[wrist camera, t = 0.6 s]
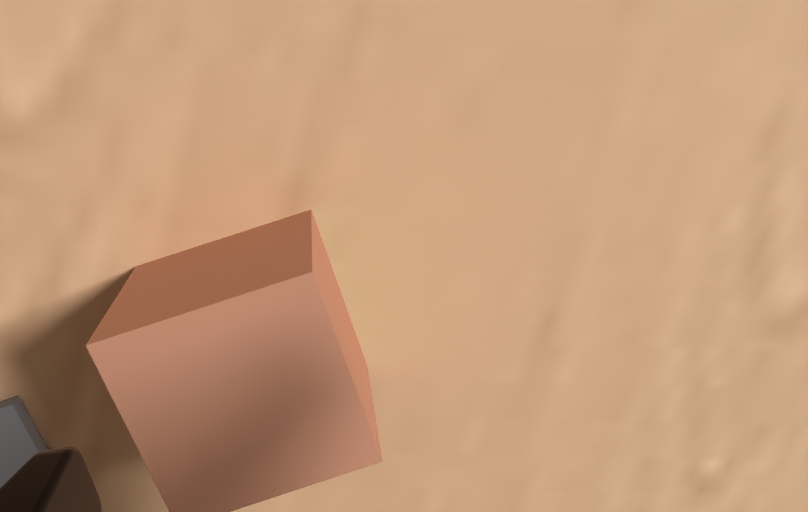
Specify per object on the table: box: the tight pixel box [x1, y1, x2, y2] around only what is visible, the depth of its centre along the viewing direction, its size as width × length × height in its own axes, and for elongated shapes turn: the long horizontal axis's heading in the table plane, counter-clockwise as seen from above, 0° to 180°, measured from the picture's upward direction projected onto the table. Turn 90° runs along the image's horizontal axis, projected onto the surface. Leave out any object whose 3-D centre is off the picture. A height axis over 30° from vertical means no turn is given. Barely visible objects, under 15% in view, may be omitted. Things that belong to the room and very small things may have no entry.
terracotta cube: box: [86, 210, 382, 512], centre depth 19 cm, size 5×5×5 cm
